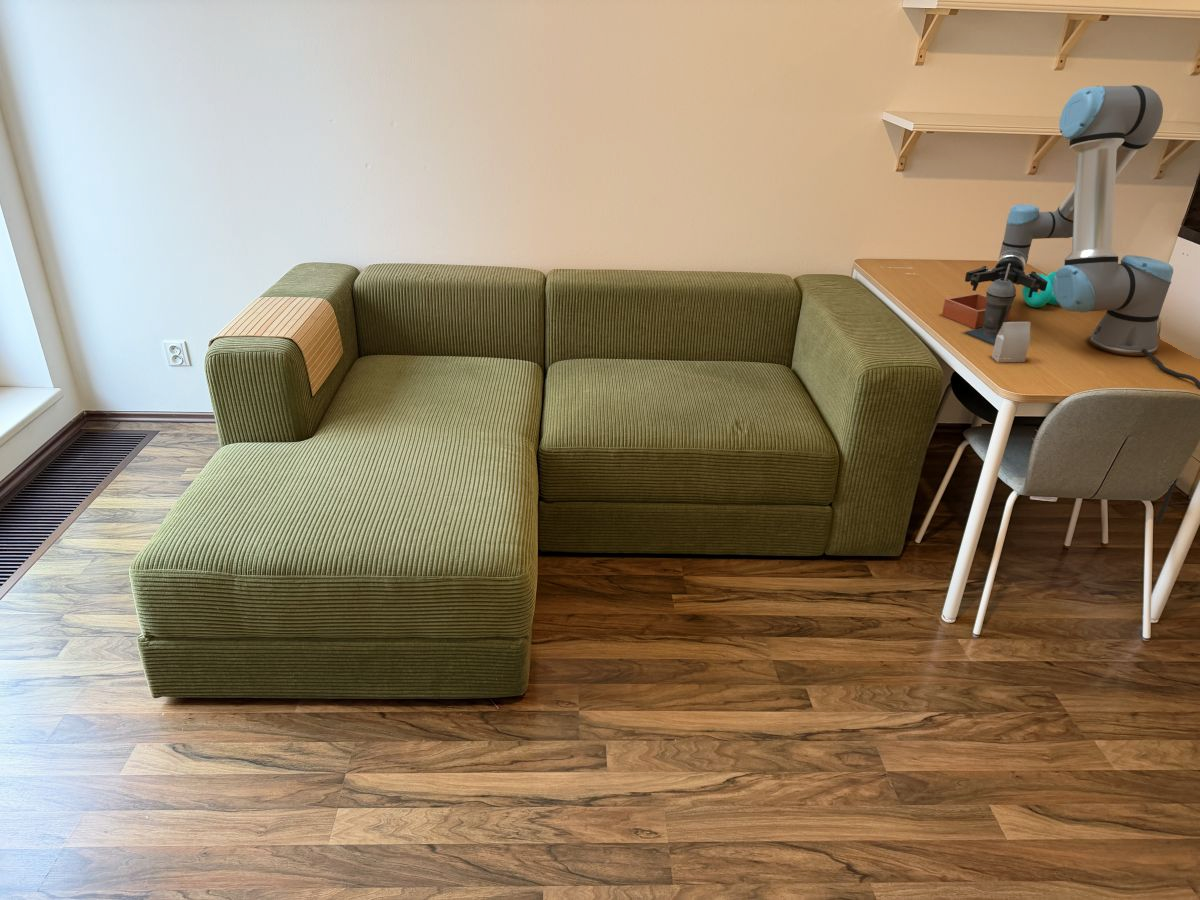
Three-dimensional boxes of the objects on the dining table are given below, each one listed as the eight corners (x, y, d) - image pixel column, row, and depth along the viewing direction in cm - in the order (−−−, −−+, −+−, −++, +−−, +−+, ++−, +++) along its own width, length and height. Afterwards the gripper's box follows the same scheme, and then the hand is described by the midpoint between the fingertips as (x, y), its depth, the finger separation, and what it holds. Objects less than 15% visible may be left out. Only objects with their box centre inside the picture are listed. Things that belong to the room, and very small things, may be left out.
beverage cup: (1001, 330, 222) (1017, 259, 213) (1010, 339, 216) (1027, 266, 206) (973, 329, 223) (989, 258, 213) (982, 339, 217) (998, 266, 207)
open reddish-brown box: (1008, 321, 229) (1012, 305, 227) (974, 328, 225) (978, 311, 223) (974, 309, 240) (977, 293, 237) (941, 315, 235) (945, 298, 233)
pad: (1018, 339, 217) (1019, 338, 217) (993, 345, 214) (994, 343, 214) (989, 328, 225) (990, 326, 225) (965, 333, 222) (965, 331, 222)
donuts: (1068, 308, 238) (1077, 275, 234) (1041, 312, 236) (1049, 279, 231) (1043, 298, 247) (1052, 267, 242) (1016, 302, 244) (1024, 270, 240)
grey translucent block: (1024, 361, 204) (1034, 324, 199) (998, 362, 203) (1007, 325, 199) (1017, 356, 207) (1026, 319, 202) (991, 356, 207) (1000, 320, 202)
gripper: (1055, 287, 225) (1051, 309, 208) (960, 276, 235) (949, 296, 219) (1062, 260, 221) (1058, 281, 205) (965, 250, 232) (955, 269, 216)
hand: (1002, 289), depth 212 cm, fingers open, 13 cm apart
